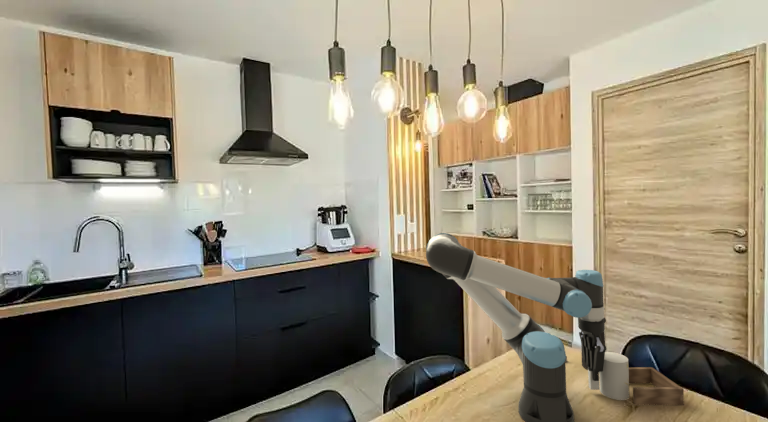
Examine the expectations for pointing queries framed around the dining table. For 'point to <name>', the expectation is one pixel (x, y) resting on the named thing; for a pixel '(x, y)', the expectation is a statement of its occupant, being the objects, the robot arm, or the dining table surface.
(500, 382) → the dining table surface
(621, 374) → the white cylinder
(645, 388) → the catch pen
